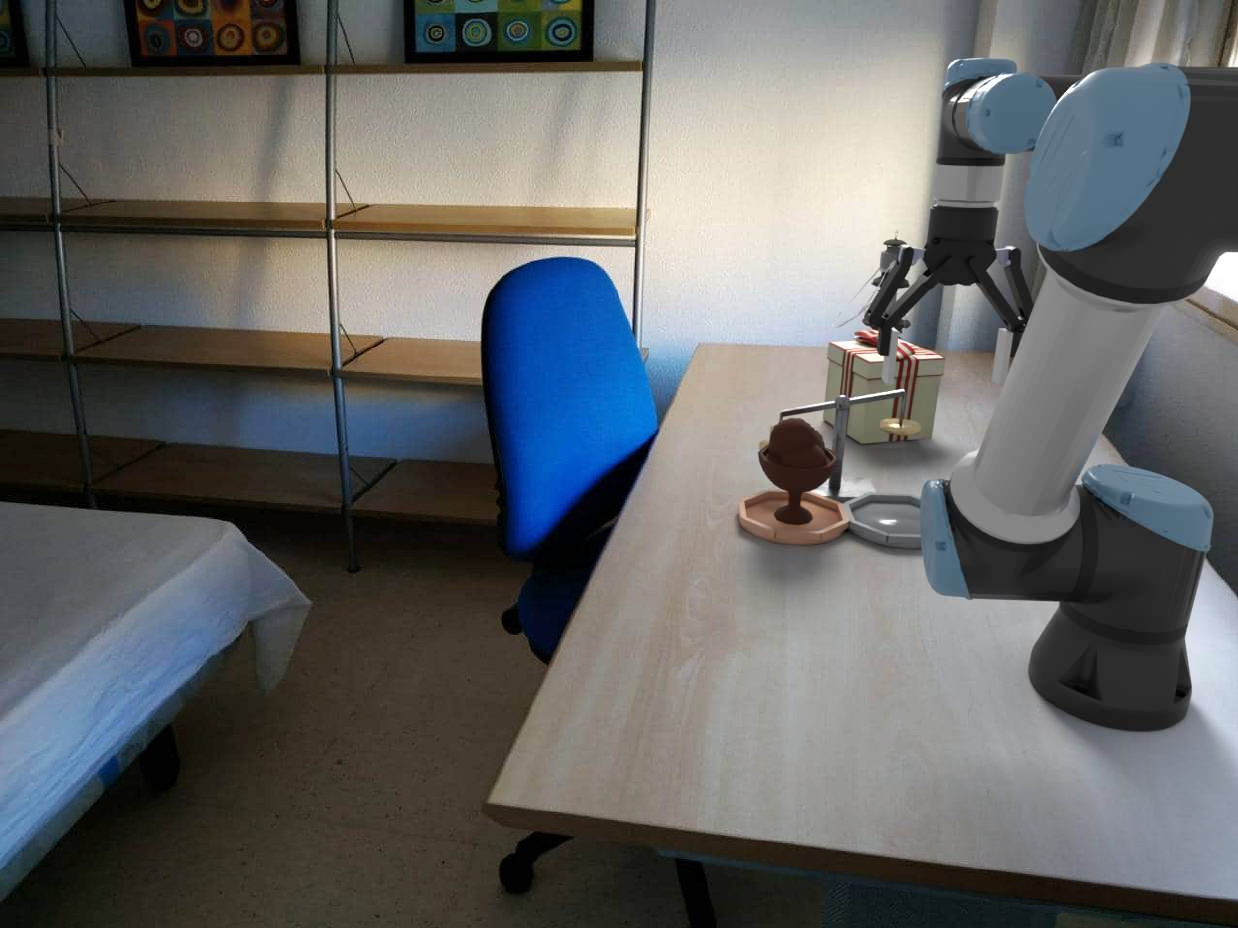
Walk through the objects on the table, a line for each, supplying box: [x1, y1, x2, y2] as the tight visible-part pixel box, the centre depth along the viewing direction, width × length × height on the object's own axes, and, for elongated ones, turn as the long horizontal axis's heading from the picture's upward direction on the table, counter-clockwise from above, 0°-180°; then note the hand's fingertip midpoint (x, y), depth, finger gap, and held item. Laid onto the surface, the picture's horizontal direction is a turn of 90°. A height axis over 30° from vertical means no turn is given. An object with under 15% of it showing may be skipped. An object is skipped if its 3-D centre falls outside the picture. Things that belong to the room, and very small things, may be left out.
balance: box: [758, 389, 921, 504], centre depth 147 cm, size 8×24×17 cm, turn 86°
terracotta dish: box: [737, 488, 849, 546], centre depth 139 cm, size 15×15×2 cm
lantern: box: [831, 230, 915, 341], centre depth 210 cm, size 18×20×30 cm
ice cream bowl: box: [757, 417, 839, 525], centre depth 137 cm, size 11×11×15 cm
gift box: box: [822, 329, 946, 445], centre depth 176 cm, size 17×18×17 cm
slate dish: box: [843, 492, 922, 550], centre depth 139 cm, size 15×15×2 cm
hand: (942, 382), depth 120 cm, fingers open, 13 cm apart
